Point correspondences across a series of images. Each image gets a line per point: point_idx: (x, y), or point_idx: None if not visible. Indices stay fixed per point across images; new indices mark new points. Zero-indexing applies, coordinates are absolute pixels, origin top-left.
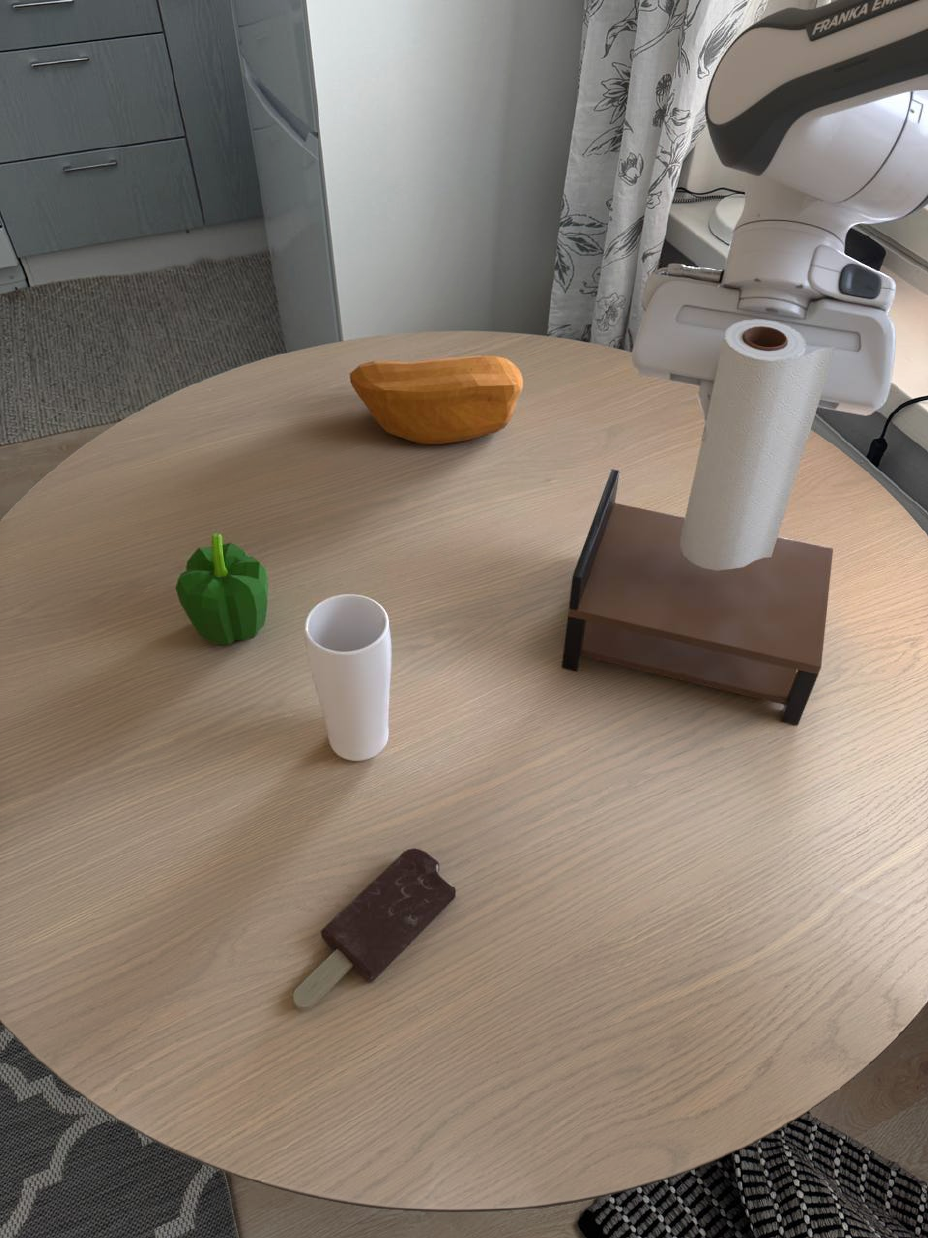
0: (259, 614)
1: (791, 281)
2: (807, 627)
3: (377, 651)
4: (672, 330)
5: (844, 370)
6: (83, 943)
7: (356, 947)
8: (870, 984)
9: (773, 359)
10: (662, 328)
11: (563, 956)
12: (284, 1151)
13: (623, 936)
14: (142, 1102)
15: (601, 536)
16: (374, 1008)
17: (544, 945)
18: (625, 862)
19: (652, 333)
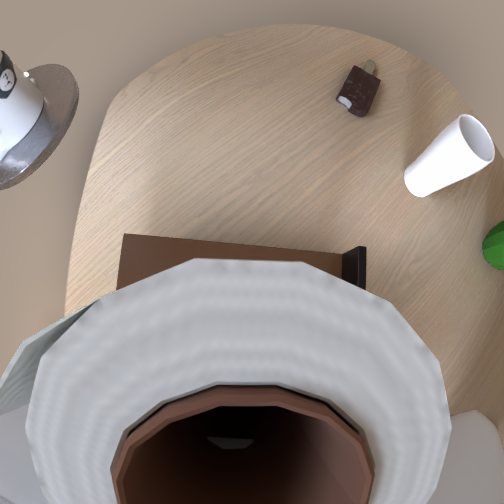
0: (492, 238)
1: None
2: (131, 280)
3: (453, 123)
4: (465, 493)
5: (6, 451)
6: (443, 90)
7: (364, 73)
8: (131, 97)
9: (179, 280)
10: (482, 485)
11: (277, 81)
12: (349, 33)
13: (250, 92)
14: (395, 47)
15: None
16: (345, 63)
17: (287, 85)
18: (255, 125)
19: (491, 467)
